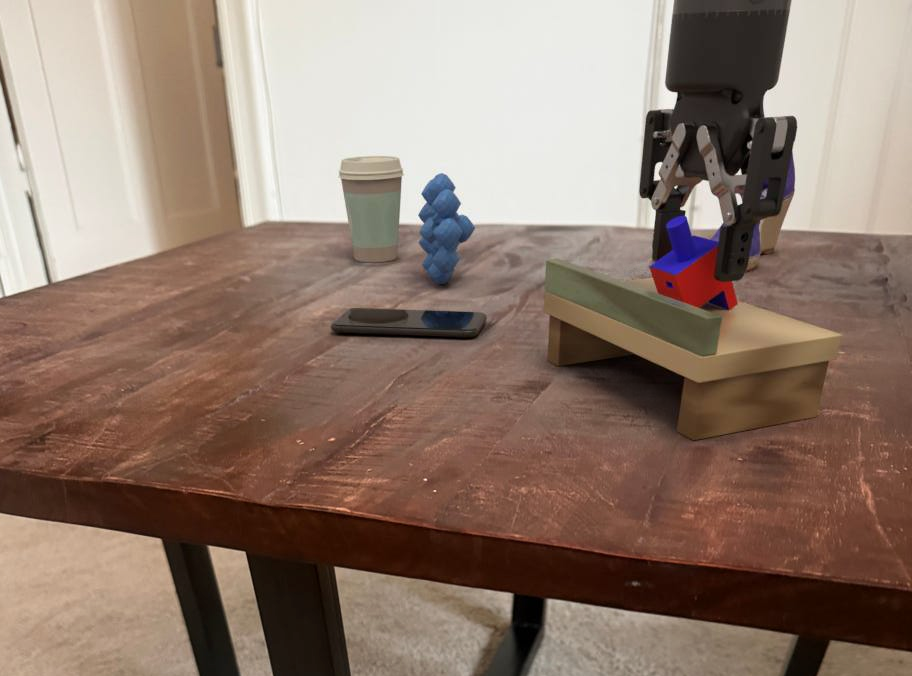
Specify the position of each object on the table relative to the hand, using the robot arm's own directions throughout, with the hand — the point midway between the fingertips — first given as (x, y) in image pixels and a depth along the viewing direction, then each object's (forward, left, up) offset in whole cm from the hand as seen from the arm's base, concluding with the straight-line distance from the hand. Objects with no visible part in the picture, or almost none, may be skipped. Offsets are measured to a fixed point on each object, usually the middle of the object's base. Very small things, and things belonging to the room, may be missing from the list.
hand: (695, 270), depth 67 cm
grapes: (+17, -41, -9) cm, 45 cm away
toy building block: (0, 0, -3) cm, 3 cm away
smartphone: (+22, -21, -9) cm, 31 cm away
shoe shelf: (+1, 0, -9) cm, 9 cm away
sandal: (-21, -48, -9) cm, 53 cm away
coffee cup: (+26, -58, -9) cm, 64 cm away
